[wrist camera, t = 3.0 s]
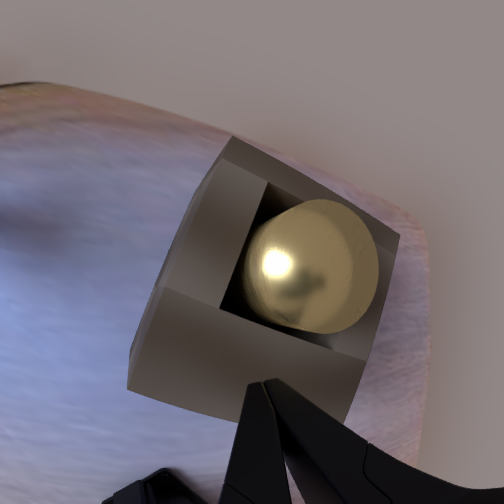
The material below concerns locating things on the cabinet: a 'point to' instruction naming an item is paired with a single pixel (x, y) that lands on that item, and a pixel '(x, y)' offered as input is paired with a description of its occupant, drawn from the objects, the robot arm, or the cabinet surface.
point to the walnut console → (234, 327)
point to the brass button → (307, 269)
